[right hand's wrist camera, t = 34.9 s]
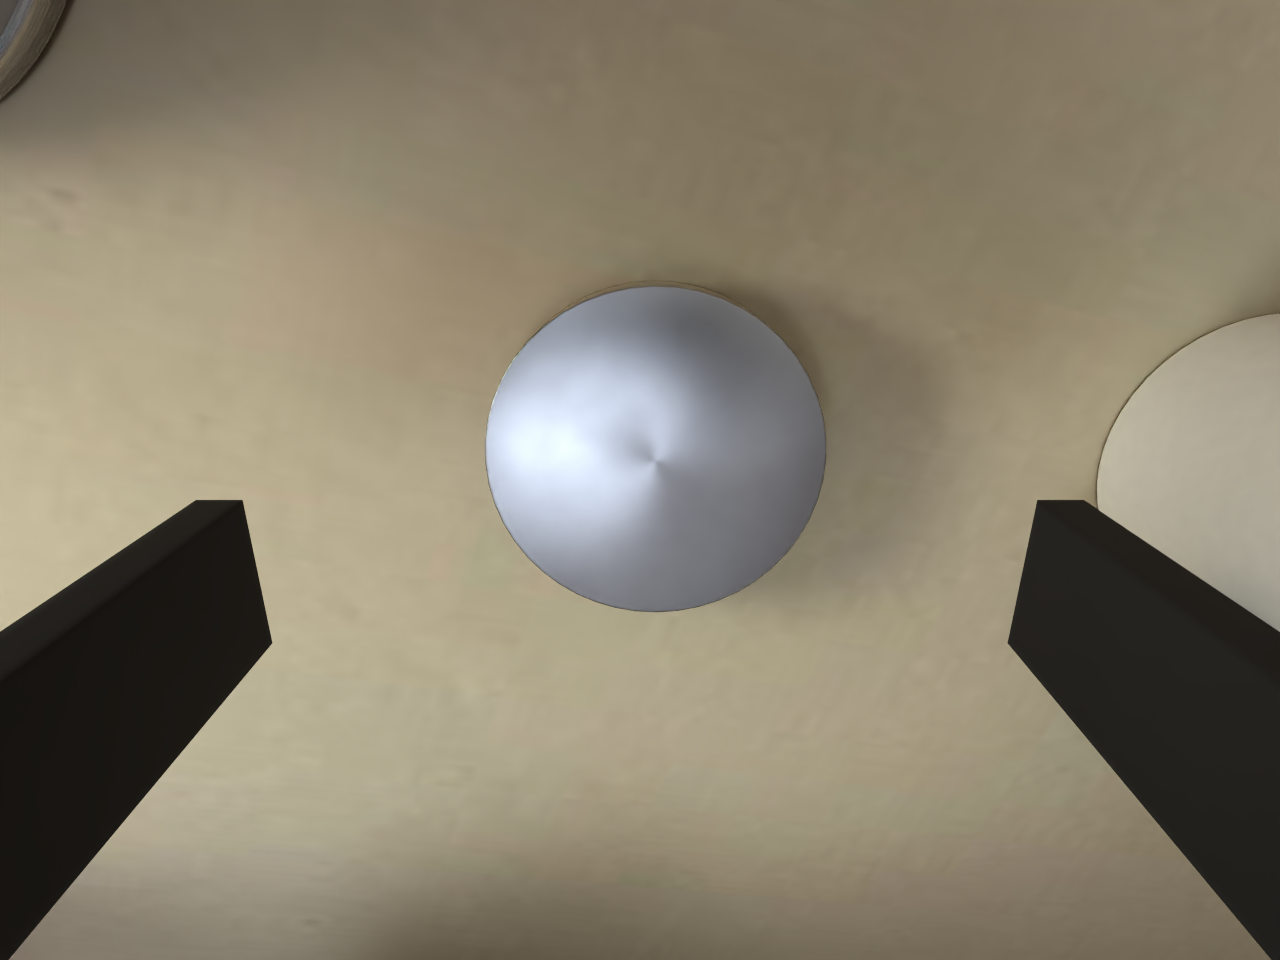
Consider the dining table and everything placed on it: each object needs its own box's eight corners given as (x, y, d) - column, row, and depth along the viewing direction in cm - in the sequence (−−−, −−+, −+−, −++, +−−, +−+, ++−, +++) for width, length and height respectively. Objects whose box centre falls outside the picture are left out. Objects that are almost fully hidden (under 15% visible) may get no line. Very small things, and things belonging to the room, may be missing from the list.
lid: (773, 238, 21) (785, 239, 19) (839, 542, 24) (855, 568, 22) (452, 333, 22) (434, 343, 20) (554, 613, 25) (547, 644, 23)
